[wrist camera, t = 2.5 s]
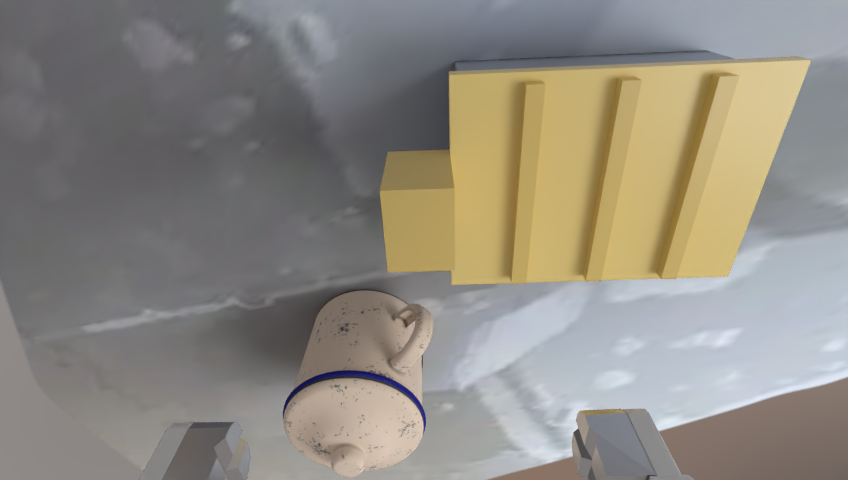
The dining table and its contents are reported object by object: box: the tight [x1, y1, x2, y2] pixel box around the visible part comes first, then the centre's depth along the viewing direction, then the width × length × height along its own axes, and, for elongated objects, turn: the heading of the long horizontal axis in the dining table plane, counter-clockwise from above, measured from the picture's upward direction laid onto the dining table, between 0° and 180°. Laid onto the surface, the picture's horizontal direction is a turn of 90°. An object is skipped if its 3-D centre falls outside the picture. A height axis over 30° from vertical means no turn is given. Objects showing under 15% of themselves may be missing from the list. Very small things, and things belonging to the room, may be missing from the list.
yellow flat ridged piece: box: [380, 57, 811, 285], centre depth 21 cm, size 18×11×4 cm, turn 92°
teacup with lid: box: [283, 290, 433, 477], centre depth 30 cm, size 12×9×12 cm
